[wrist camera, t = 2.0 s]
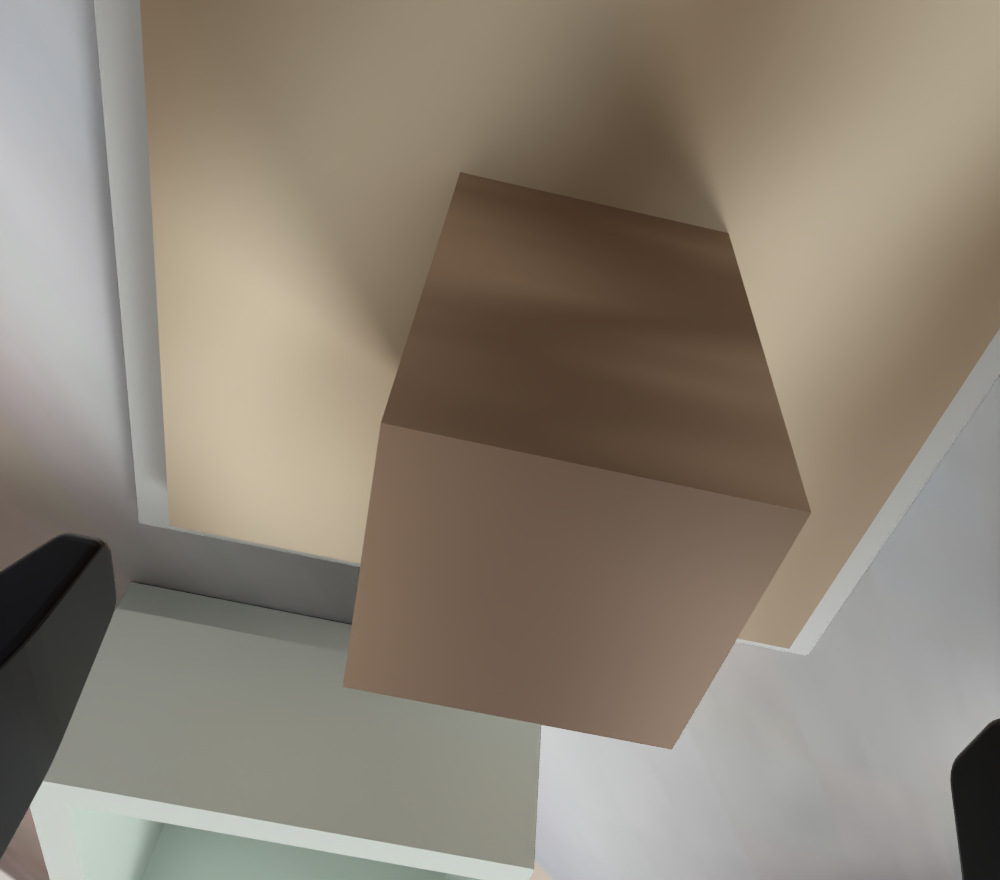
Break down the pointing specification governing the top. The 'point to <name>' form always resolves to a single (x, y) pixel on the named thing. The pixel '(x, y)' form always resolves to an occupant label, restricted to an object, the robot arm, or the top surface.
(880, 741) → the top surface
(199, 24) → the oak lid
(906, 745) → the top surface
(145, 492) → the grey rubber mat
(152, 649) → the mint square tray
